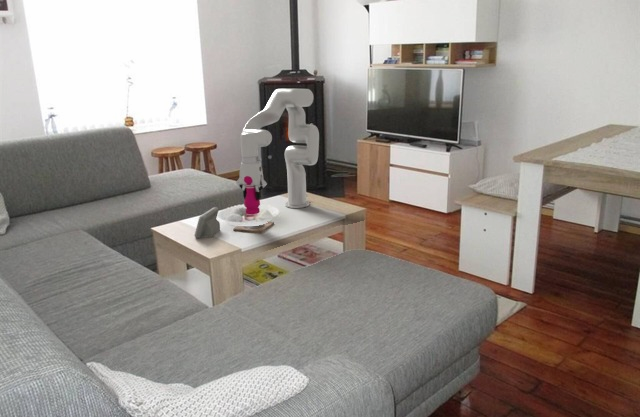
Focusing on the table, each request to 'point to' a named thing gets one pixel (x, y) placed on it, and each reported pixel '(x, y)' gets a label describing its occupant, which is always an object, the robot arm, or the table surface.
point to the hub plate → (254, 228)
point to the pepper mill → (251, 197)
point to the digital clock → (208, 224)
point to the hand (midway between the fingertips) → (252, 198)
